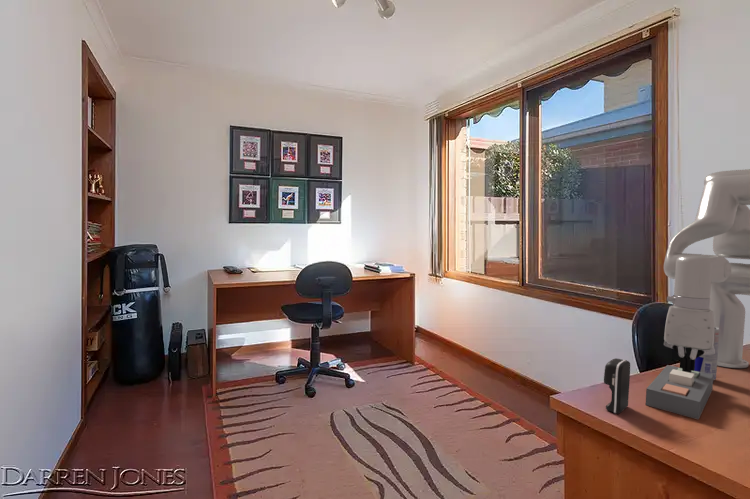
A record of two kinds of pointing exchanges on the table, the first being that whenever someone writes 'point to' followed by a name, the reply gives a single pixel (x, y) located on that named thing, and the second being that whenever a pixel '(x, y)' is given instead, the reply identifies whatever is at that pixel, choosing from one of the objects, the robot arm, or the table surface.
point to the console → (679, 403)
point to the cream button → (681, 377)
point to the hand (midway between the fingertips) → (686, 372)
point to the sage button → (696, 374)
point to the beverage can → (709, 359)
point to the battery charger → (618, 384)
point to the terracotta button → (675, 389)
